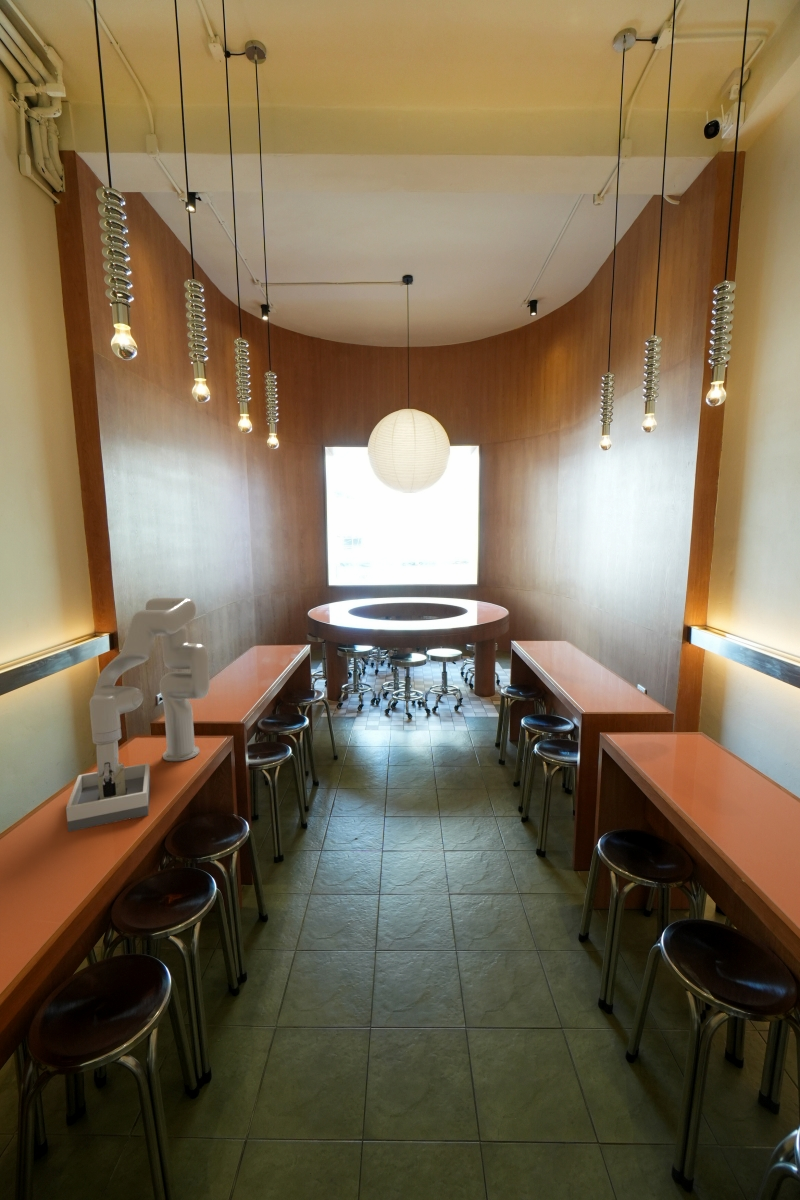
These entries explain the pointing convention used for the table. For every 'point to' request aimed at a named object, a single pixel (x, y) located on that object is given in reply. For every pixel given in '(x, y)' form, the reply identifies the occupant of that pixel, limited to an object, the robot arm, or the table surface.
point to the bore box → (93, 811)
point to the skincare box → (119, 783)
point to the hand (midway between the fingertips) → (111, 788)
